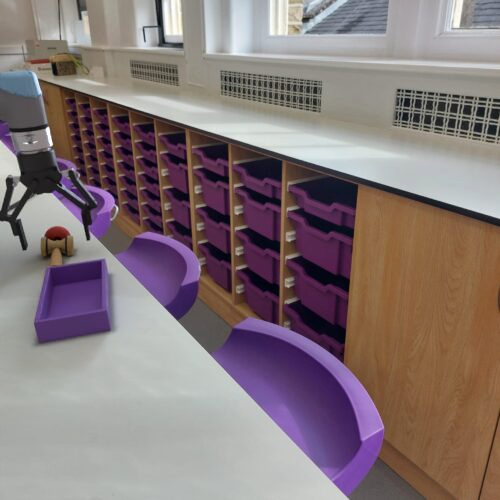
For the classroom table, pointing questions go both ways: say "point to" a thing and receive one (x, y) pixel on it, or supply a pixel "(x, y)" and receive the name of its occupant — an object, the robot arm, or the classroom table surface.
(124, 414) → the classroom table surface
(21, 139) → the robot arm
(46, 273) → the tote
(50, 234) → the kendama
